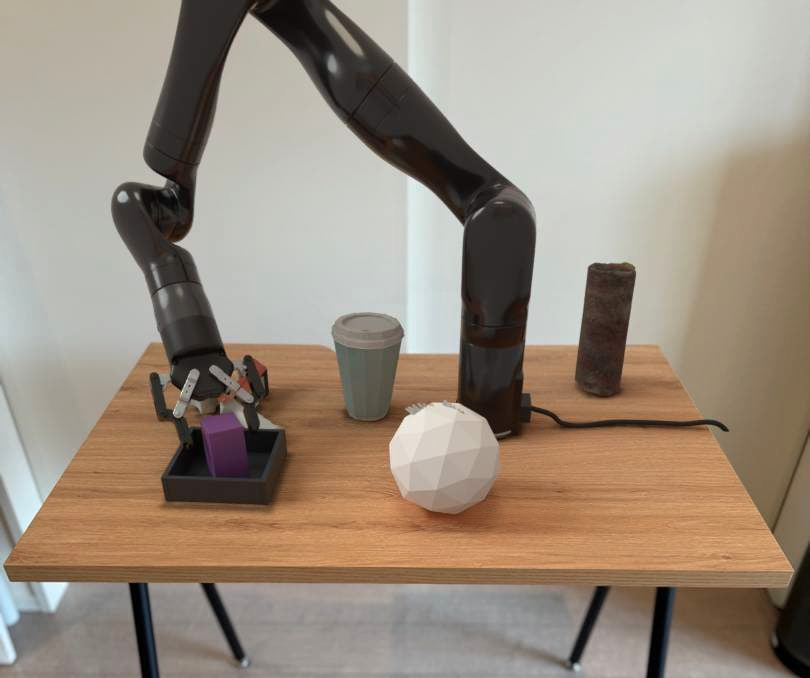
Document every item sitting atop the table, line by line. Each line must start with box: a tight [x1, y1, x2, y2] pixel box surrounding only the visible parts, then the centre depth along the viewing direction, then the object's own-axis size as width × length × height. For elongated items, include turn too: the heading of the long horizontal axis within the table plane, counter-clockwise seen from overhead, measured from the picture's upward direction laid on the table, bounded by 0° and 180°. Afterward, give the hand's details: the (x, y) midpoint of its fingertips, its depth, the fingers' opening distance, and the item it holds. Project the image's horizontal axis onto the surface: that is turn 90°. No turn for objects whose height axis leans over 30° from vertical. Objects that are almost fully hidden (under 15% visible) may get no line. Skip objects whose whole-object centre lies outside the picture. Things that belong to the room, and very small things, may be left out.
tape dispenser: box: [188, 357, 284, 429], centre depth 121 cm, size 18×5×20 cm
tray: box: [160, 425, 288, 506], centre depth 107 cm, size 13×13×4 cm
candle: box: [574, 261, 637, 397], centre depth 125 cm, size 8×7×20 cm
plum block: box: [199, 412, 250, 478], centre depth 106 cm, size 4×4×8 cm
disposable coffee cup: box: [330, 311, 405, 422], centre depth 119 cm, size 11×11×15 cm
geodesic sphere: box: [388, 399, 501, 515], centre depth 100 cm, size 15×14×14 cm
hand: (223, 440), depth 105 cm, fingers open, 8 cm apart
